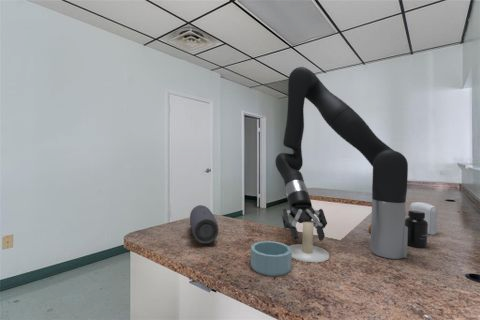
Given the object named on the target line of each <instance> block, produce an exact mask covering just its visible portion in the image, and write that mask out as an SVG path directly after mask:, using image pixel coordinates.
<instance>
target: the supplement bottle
mask: <svg viewBox="0 0 480 320" xmlns="http://www.w3.org/2000/svg"><path fill="white" fill-rule="evenodd" d="M407 213H408V215H407V216H408V217H405V226H407V227H408V240H407V246H410V247H413V248H418V249H423V248H427V247H428V236H429V234H428V223H427V221H426V220H424V218H425V213H424V212H421V211H413V210H410V209H409V210H408V212H407Z"/></svg>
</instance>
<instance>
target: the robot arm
mask: <svg viewBox="0 0 480 320" xmlns="http://www.w3.org/2000/svg"><path fill="white" fill-rule="evenodd" d="M287 82H288V83H287V85H288V86H287V88H288V89H287V90H288V91H287V114H286V123H285V124H286V125H285V128H284V130H285V131H284V136H283V146H284V147H286V148H288V149H290V150H292V153H287V152H280V153H278V154H277V156H275V160H274V161H275V162H274V163H275V167H276V169H277V171H278V173H279V174H280V176H281V178H282V180H283V182H284V186H285V194H286V198H287V202H288V206H289V209H286V208H283V209H282V211H281V217H282V218H281V219H282V225H283V228H284V229H289V230H290V234H291V238H292V239H293V240H294V242H298V240H299V239H300V238H299V233H298V228H297V227H296V225H297V223H299V224H303V222H312V223H314V226H313V228H315V229H316V233H317V237H318V240H319V241H320V242H322V241H324V239H325V237H326V236H325V232H324V229H325V228H326V226H327V225H328V221H327V219H326V215H325V213H324V210H323V208H319V209H317V210H316V209H314V208H313V206H312V201H311V197H310V194H309V191H308V188H307V186H306V183H305V179H304V177H303V174H302V172H301V171H300V170H301V169H302V167H303V160H304V159H303V155H302V153H303V151H302V142H303V135H304V132H305V131H304V130H305V117H304V115H305V114H304V108H305V107H304V105H305V99H306V100H308V101H309V102H310V103H311V104H312V105H313V106H314V107H315V108H316V109H317V110H318V112H319V114H320V115H321V117H322V118H323V120H324V121H325V123H326V124H327V125H328V126H329V127H330V128H331V129H332V130H333V132H335V133H336V134H337V135H338V136H340V138H342V139H343V140H344V141H345V142H347V143H348V144H349V145H350V146H352V147H353V148H355V149H356V150H357V151H359V152H360V154H361V155H363V157H364V158H365V160H366V161H368V163H369V164H370V165H371V167H372V182H371V183H372V186H371V190H372V191H371V194H372V195H371V199H372V200H371V224H370V225H371V233H370V244H369V245H370V248H369V249H370V252H371V253H372V254H374V255H376V256H378V257H382V258H386V259H392V260H399V259H403V258H404V259H408V245H407V240H408V227H407V226H405V219H406V203H407V202H406V200H407V194H408V193H407V192H408V178H409V177H408V174H409V164H408V163H409V162H408V160H407V158H406V156H404V154H402V152H399V151H396V150H394V149H393V148H391V147H390V146H389V145H387V144H386V143H385V142H384V141H382V140H381V139H380V138H379V137H378V136H377V135H376V134H375V133H374V132H373V130H372V129H371V128H370V126H369V124H368V123H367V122H365V120H364V118H362V117H361V116H360V115H359V113H358V112H356V111H355V110H354V109H353V108H352V107H350V105H348V104H347V103H346V101H344V100H342V99H341V98H340V97H338V96H337V95H335V94H334V93H332V92H331V91H330V90H329V89H328V88H327V87H326V86H325V84H323V82H322V81H321V80H320V78H319V77H318V76H317V74H315V72H313V71H312V70H311V69H309V68H307V67H304V66H298V67H295V68H294V69H292V71H291V72H290V73H289V76H288V81H287ZM289 216H290V217H292V218H293V221H292V222H290V221H289Z"/></svg>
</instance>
